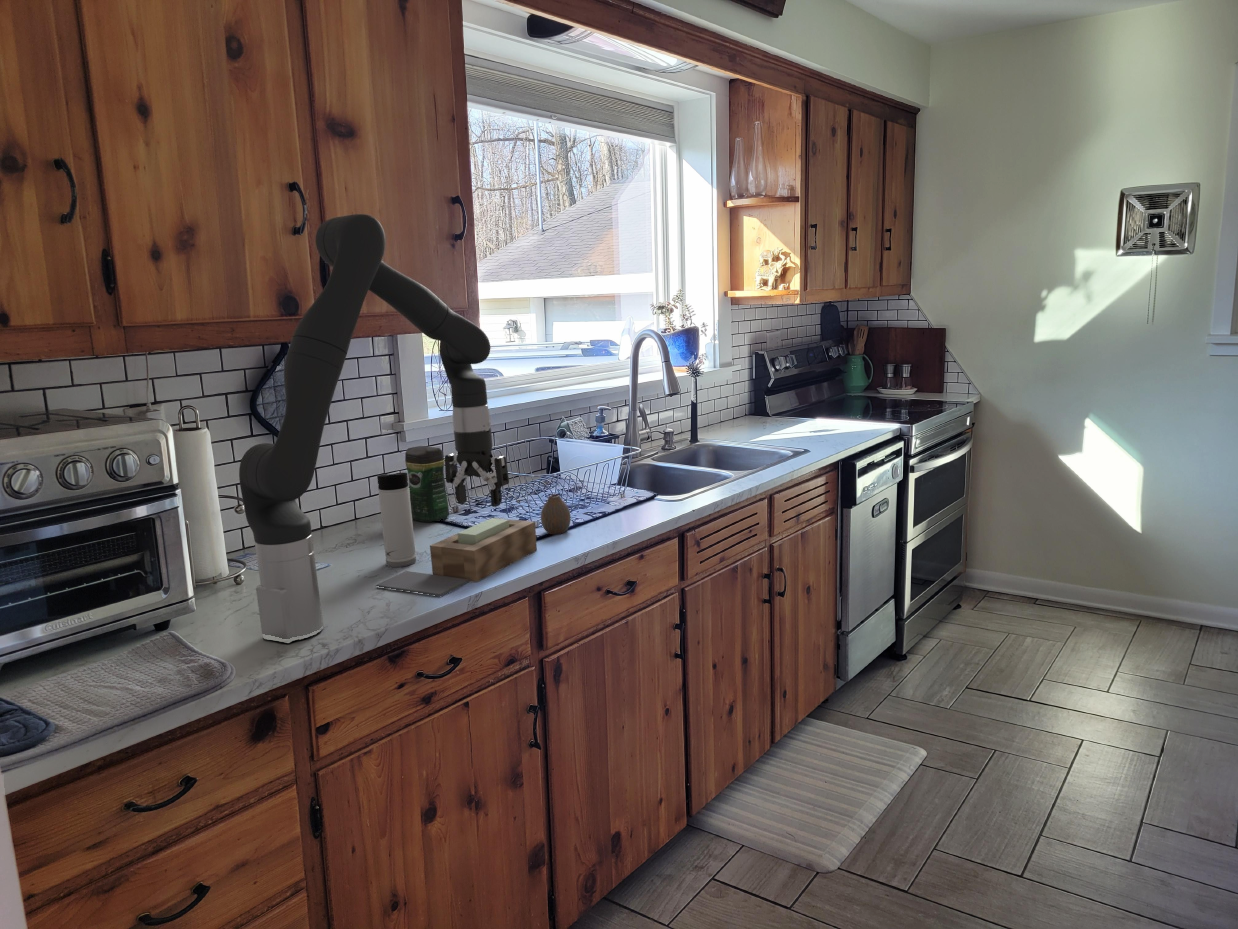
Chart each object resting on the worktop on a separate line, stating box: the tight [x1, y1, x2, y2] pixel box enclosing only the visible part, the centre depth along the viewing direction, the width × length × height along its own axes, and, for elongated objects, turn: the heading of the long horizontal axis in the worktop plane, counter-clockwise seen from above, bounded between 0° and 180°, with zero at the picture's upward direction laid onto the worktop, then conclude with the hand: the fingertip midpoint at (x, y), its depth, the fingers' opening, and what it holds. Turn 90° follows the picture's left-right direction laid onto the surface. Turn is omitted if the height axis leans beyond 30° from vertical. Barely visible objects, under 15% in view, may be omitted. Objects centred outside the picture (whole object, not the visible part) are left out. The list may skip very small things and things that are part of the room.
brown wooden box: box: [429, 517, 538, 583], centre depth 193 cm, size 22×11×6 cm, turn 152°
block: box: [456, 517, 510, 545], centre depth 192 cm, size 12×4×4 cm, turn 152°
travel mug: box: [376, 472, 417, 568], centre depth 194 cm, size 6×7×20 cm
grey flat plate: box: [375, 570, 470, 597], centre depth 181 cm, size 9×16×1 cm, turn 62°
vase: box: [540, 494, 571, 535], centre depth 213 cm, size 7×7×9 cm
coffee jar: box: [404, 445, 450, 523], centre depth 231 cm, size 10×8×19 cm
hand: (479, 504), depth 190 cm, fingers open, 8 cm apart
